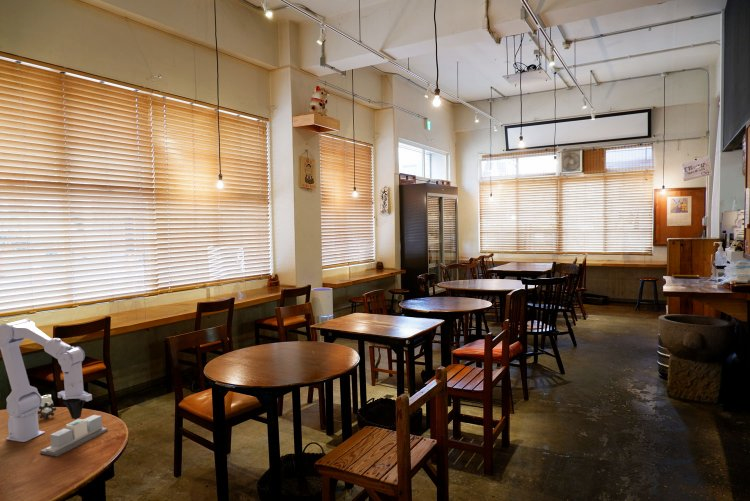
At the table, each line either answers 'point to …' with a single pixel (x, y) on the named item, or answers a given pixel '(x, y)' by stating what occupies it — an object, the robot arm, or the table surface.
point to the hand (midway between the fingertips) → (76, 418)
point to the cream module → (78, 428)
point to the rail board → (64, 438)
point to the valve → (46, 406)
